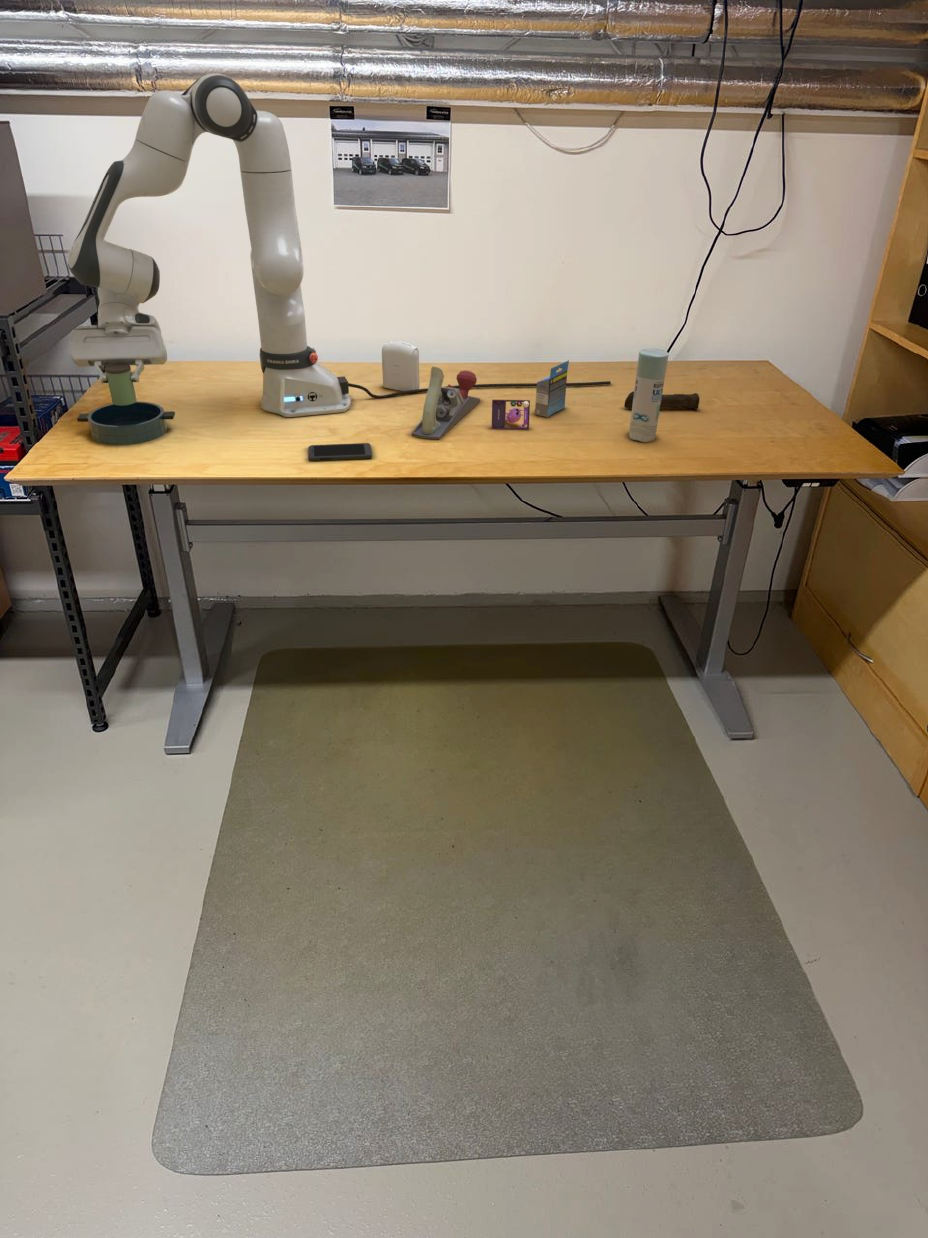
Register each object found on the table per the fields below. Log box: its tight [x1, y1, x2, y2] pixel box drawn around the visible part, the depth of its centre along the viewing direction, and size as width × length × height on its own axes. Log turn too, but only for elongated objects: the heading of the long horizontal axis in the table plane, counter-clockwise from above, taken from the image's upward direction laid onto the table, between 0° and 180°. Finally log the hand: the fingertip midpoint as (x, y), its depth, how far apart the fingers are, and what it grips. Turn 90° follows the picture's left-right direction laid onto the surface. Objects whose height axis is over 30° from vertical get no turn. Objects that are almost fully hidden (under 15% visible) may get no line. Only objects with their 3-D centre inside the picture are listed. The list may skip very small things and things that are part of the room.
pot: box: [87, 400, 168, 446], centre depth 198 cm, size 17×17×4 cm
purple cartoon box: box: [491, 399, 531, 430], centre depth 207 cm, size 7×5×9 cm
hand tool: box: [623, 390, 700, 411], centre depth 220 cm, size 19×4×5 cm, turn 92°
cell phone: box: [307, 442, 373, 462], centre depth 191 cm, size 7×14×1 cm, turn 99°
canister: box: [104, 363, 137, 406], centre depth 193 cm, size 5×5×8 cm
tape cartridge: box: [534, 360, 570, 419], centre depth 214 cm, size 9×4×12 cm, turn 145°
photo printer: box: [381, 340, 421, 392], centre depth 226 cm, size 10×4×12 cm, turn 63°
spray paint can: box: [628, 348, 669, 443], centre depth 198 cm, size 6×6×20 cm
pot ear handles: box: [76, 410, 176, 423], centre depth 197 cm, size 21×3×1 cm, turn 98°
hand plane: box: [411, 366, 481, 440], centre depth 208 cm, size 7×31×15 cm, turn 160°
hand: (119, 381), depth 192 cm, fingers closed on canister, 5 cm apart
